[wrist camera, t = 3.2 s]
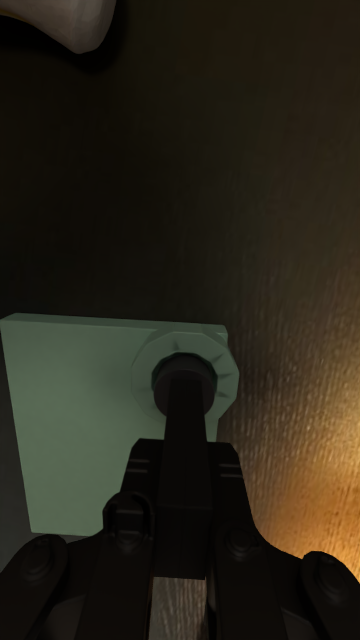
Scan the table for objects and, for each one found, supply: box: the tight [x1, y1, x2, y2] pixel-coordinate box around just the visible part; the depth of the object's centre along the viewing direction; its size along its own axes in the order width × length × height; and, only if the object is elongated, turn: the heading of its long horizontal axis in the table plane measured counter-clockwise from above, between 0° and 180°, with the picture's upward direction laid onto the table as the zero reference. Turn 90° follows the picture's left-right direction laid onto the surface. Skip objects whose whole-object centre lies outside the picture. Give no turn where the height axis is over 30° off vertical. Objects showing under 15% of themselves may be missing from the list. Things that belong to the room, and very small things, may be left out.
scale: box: [0, 313, 239, 536], centre depth 19 cm, size 18×15×4 cm
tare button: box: [153, 355, 215, 416], centre depth 15 cm, size 3×3×2 cm
